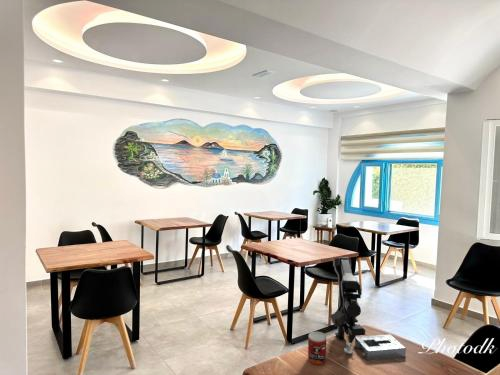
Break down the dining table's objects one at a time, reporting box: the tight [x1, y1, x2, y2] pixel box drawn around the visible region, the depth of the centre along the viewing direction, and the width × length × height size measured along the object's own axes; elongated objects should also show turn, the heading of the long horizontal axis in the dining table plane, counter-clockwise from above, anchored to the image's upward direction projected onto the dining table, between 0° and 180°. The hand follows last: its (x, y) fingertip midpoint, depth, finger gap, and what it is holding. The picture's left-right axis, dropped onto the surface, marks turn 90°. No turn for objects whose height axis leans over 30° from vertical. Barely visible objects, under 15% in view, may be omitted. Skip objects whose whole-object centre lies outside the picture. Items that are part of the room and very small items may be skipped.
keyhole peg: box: [343, 332, 355, 355], centre depth 146 cm, size 4×4×8 cm
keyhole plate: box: [354, 334, 407, 361], centre depth 148 cm, size 12×18×4 cm, turn 98°
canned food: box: [307, 331, 327, 366], centre depth 141 cm, size 8×8×11 cm
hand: (348, 340), depth 146 cm, fingers closed on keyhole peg, 3 cm apart
